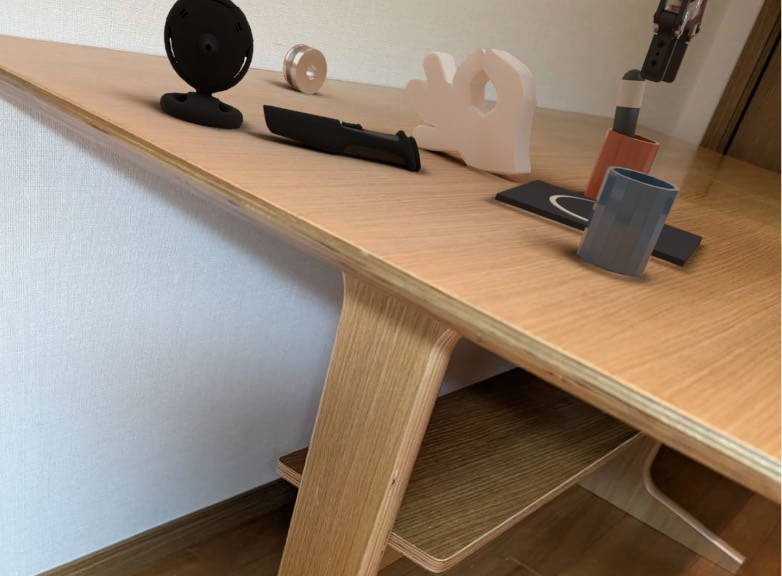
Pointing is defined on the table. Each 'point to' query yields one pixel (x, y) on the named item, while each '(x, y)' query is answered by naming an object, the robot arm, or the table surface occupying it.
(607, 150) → the pen pot
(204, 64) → the webcam
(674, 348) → the table surface
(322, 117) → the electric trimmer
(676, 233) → the drawing pad
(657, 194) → the pen cup
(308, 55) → the metal grooved wheel
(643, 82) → the rod
